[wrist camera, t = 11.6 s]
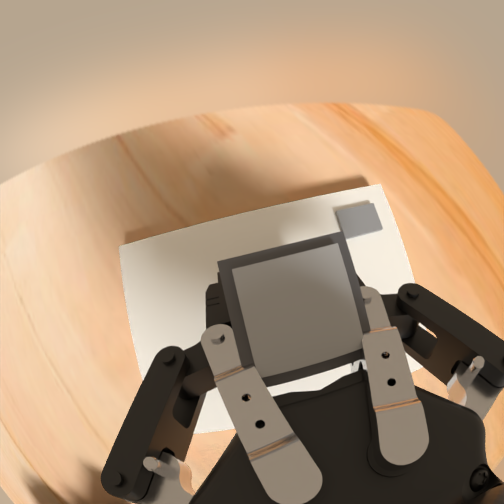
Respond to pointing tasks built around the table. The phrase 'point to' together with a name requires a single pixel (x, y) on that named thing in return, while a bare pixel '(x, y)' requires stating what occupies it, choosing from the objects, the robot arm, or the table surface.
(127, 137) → the table surface
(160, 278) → the plate
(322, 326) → the grey rectangular peg
